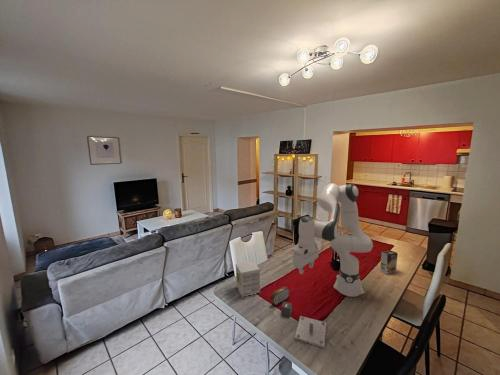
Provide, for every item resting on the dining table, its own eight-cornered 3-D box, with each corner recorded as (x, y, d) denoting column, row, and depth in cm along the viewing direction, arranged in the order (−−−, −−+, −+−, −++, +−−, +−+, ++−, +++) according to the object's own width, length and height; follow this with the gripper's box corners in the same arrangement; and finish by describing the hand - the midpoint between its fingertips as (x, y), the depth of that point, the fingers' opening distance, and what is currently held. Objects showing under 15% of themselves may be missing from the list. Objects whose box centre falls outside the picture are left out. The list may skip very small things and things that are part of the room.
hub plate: (300, 317, 125) (300, 311, 125) (326, 324, 120) (326, 317, 119) (294, 339, 111) (294, 332, 110) (324, 348, 105) (324, 340, 105)
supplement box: (236, 286, 156) (235, 263, 154) (253, 282, 161) (253, 260, 158) (241, 298, 144) (241, 272, 142) (260, 293, 148) (260, 268, 146)
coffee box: (387, 275, 167) (388, 254, 165) (379, 270, 173) (381, 251, 171) (396, 272, 170) (397, 253, 167) (388, 268, 176) (390, 249, 173)
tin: (287, 295, 145) (287, 283, 144) (290, 298, 143) (290, 285, 142) (270, 305, 137) (269, 292, 135) (273, 308, 134) (273, 295, 133)
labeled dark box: (283, 309, 132) (283, 300, 132) (291, 311, 131) (291, 302, 130) (281, 315, 128) (281, 305, 127) (290, 317, 126) (290, 307, 125)
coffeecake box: (321, 248, 216) (321, 229, 213) (320, 251, 209) (321, 231, 206) (305, 246, 222) (306, 227, 219) (304, 249, 215) (304, 230, 213)
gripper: (311, 240, 130) (311, 262, 132) (290, 249, 117) (290, 274, 118) (321, 242, 126) (321, 266, 127) (301, 253, 112) (300, 279, 114)
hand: (306, 270), depth 123 cm, fingers open, 8 cm apart
